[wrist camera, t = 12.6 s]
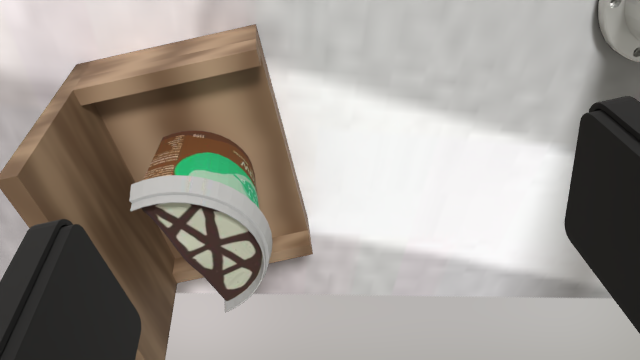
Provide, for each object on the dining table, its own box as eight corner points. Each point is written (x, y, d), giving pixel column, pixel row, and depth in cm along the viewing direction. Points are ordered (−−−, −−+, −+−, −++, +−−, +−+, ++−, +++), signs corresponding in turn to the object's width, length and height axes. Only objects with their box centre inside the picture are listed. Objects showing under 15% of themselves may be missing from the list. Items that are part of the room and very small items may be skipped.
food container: (293, 201, 44) (303, 287, 36) (232, 227, 45) (229, 316, 37) (221, 89, 37) (213, 164, 29) (151, 122, 38) (124, 204, 30)
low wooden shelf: (255, 24, 37) (257, 123, 25) (307, 218, 49) (325, 347, 37) (76, 64, 38) (-6, 180, 26) (171, 247, 50) (146, 385, 38)
